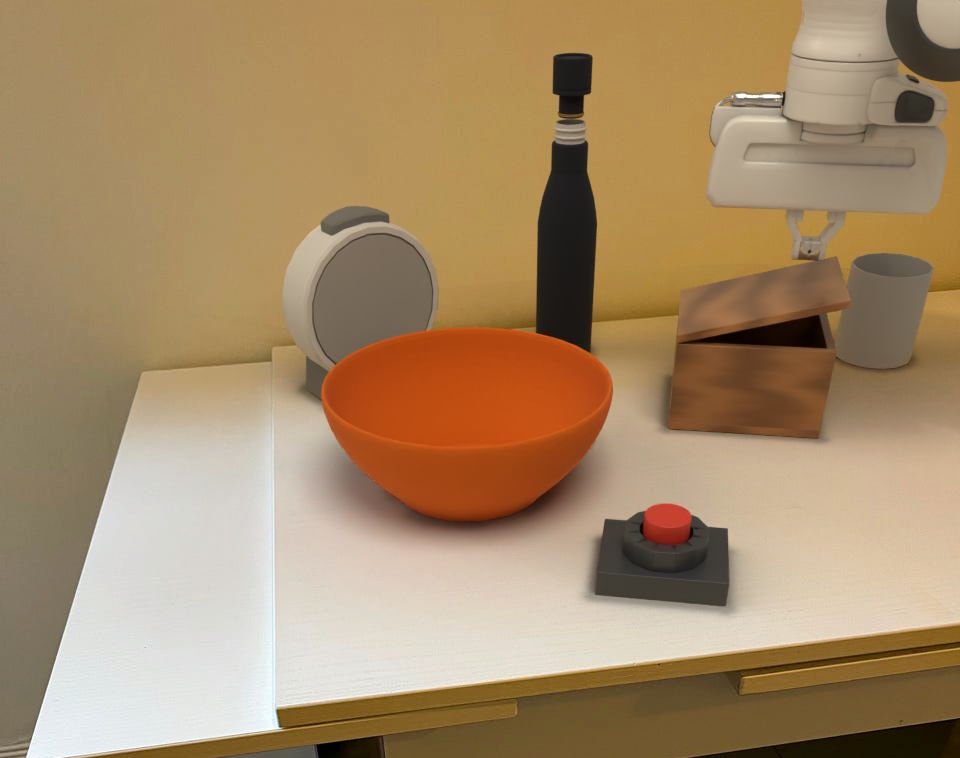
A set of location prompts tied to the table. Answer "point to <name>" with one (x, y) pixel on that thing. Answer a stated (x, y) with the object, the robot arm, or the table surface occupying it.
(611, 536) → the button block
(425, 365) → the bowl
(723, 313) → the box lid
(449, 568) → the table surface
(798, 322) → the oak box
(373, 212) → the alarm clock
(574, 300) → the wine bottle
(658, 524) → the button
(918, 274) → the cup
